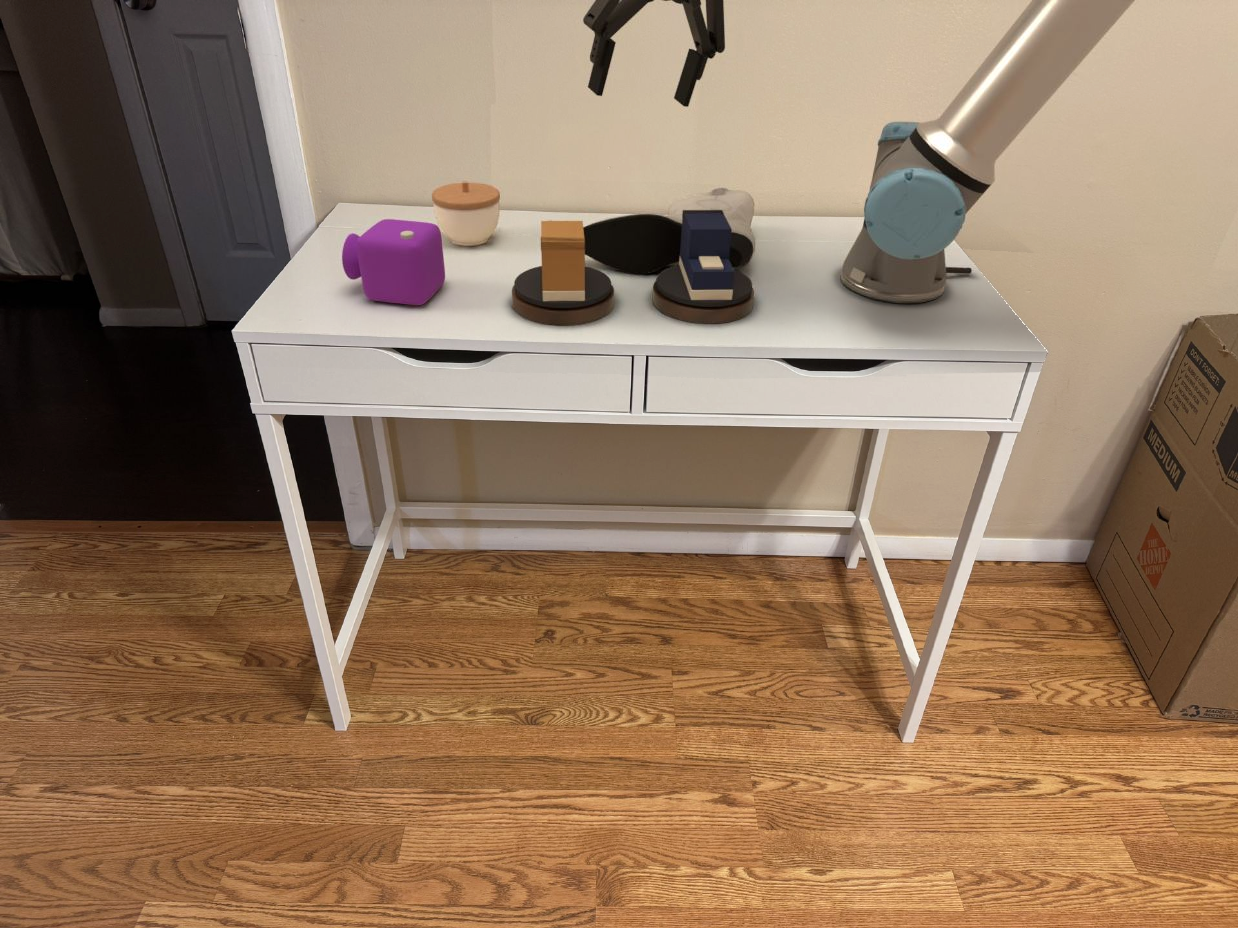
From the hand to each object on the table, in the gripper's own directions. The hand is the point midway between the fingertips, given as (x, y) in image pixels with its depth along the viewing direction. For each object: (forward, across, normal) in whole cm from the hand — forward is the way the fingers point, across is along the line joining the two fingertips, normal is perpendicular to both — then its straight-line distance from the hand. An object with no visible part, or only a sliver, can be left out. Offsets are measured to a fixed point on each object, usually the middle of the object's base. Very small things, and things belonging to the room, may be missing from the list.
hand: (639, 97), depth 110 cm
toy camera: (+33, +27, -6) cm, 43 cm away
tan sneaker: (+25, +8, +7) cm, 27 cm away
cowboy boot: (+25, -17, -4) cm, 30 cm away
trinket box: (+33, +10, -21) cm, 41 cm away
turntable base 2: (+22, -10, +15) cm, 28 cm away
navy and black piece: (+20, -10, +15) cm, 26 cm away
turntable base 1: (+27, +8, +7) cm, 29 cm away
